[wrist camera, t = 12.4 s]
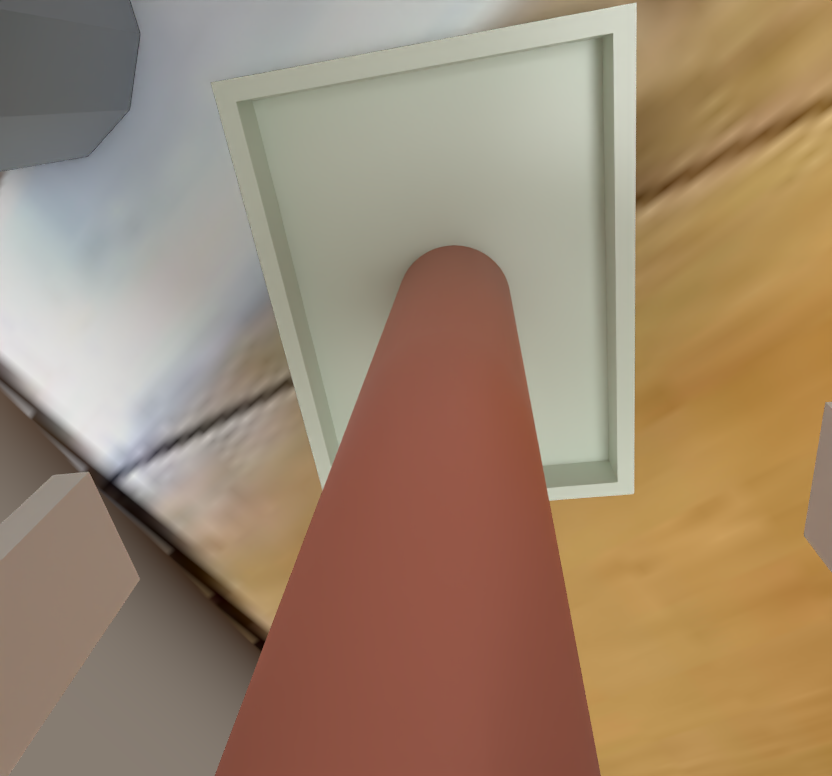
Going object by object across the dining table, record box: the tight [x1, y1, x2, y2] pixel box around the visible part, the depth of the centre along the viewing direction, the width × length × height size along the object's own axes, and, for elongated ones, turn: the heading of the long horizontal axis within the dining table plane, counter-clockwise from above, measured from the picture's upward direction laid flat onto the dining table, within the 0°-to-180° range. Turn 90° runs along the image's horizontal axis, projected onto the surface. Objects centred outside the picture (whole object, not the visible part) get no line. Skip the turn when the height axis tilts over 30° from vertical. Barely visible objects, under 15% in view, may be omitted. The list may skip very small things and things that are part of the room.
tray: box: [211, 2, 637, 500], centre depth 21 cm, size 16×12×2 cm
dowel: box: [215, 245, 601, 776], centre depth 12 cm, size 4×4×20 cm
